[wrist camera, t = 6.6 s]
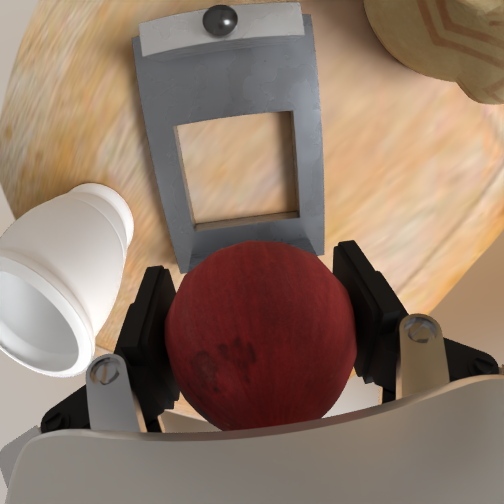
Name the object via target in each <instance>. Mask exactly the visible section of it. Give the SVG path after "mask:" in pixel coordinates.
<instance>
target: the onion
mask: <svg viewBox="0 0 504 504" xmlns="http://www.w3.org/2000/svg"><path fill="white" fill-rule="evenodd" d="M357 337H358V336H357V330H356V324H355V318H354V312H353V307H352V304H351V300H350V297H349V294H348V291H347V289H346V288H345V287H344V286H343V285H342V284H341V282H340V281H339V280H338V279H337V278H336V277H335V276H334V275H333V273H332V272H331V271H330V270H329V269H328V268H327V267H326V266H325V265H324V264H323V263H322V262H321V261H320V259H319V258H318V257H317V256H316V255H315V254H312V253H309V252H307V251H304V250H301V249H299V248H296V247H294V246H291V245H288V244H285V243H283V242H271V241H252V240H248V241H245V242H241V243H238V244H235V245H232V246H228V247H225V248H222V249H220V250H218V251H216V252H214V253H212V254H211V255H210V256H208V257H207V258H206V259H205V260H203V261H202V262H201V263H200V264H198V265H197V266H196V267H195V268H193V269H192V270H191V271H190V272H188V273H187V274H186V275H185V276H184V278H183V280H182V283H181V285H180V287H179V289H178V291H177V293H176V295H175V297H174V300H173V302H172V304H171V307H170V309H169V312H168V314H167V316H166V319H165V346H166V349H167V353H168V357H169V361H170V365H171V368H172V372H173V375H174V378H175V381H176V384H177V386H178V388H179V390H180V391H181V393H182V395H183V396H184V398H185V400H186V401H187V402H188V403H189V404H190V405H191V406H192V407H193V408H194V409H195V410H196V411H197V412H198V413H199V414H200V415H201V416H202V417H203V418H205V419H206V420H207V421H208V422H209V423H211V424H213V425H214V426H216V427H217V428H219V429H221V430H222V431H234V430H245V429H255V428H264V427H272V426H280V425H287V424H293V423H299V422H305V421H311V420H316V419H321V418H322V417H323V416H324V415H325V414H326V413H327V412H328V411H329V410H330V409H331V408H332V406H333V405H334V404H335V402H336V401H337V400H338V398H339V397H340V395H341V393H342V391H343V389H344V388H345V385H346V383H347V381H348V379H349V376H350V374H351V372H352V369H353V366H354V362H355V359H356V355H357Z"/></svg>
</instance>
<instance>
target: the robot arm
mask: <svg viewBox="0 0 504 504" xmlns="http://www.w3.org/2000/svg"><path fill="white" fill-rule="evenodd" d="M333 275H334V276H335V277H336V278H337V279H338V280H339V281H340V282H341V284H342V285H343V286H344V287H345V288H346V289H347V291H348V294H349V297H350V300H351V304H352V307H353V312H354V318H355V324H356V330H357V336H358V337H357V355H356V359H355V362H354V368H355V371H356V374H357V376H358V377H363V380H364V382H365V384H368V383H372V382H374V383H375V384H376V385H379V386H380V390H379V405H377V406H373V407H370V408H366V409H362V410H358V411H354V412H349V413H345V414H341V415H336V416H331V417H327V418H321V419H316V420H311V421H305V422H299V423H293V424H287V425H280V426H272V427H264V428H255V429H245V430H234V431H219V432H198V433H166V432H165V429H164V426H163V423H162V420H161V416H160V414H162V413H163V412H164V409H174V401H178V400H179V395H180V390H179V388H178V386H177V384H176V381H175V378H174V375H173V372H172V368H171V365H170V361H169V357H168V353H167V349H166V346H165V319H166V316H167V314H168V312H169V309H170V307H171V304H172V302H173V300H174V297H175V295H176V291H175V288H174V284H173V281H172V278H171V275H170V272H169V270H168V269H164V267H163V266H162V265H160V266H153V267H147V269H146V272H145V274H144V277H143V280H142V282H141V285H140V288H139V291H138V293H137V296H136V299H135V302H134V303H132V304H130V306H129V309H128V311H127V314H126V317H125V320H124V323H123V326H122V329H121V332H120V335H119V338H118V341H117V344H116V347H115V350H114V353H113V354H105V355H102V356H100V357H98V358H96V359H95V360H94V361H92V363H91V364H90V365H89V366H88V369H87V371H86V384H85V385H84V386H83V387H81V388H80V389H78V390H77V391H76V392H74V393H73V394H71V395H70V396H68V397H67V398H66V399H64V400H63V401H61V402H60V403H58V404H57V405H56V406H54V407H53V408H51V409H50V410H49V411H48V412H47V413H46V414H45V415H44V417H43V418H42V422H41V427H38V426H37V425H36V426H34V427H33V428H31V429H30V430H28V431H27V432H25V433H24V434H22V435H21V436H19V437H18V438H16V439H15V440H13V441H12V442H10V443H9V444H7V445H6V446H5V447H4V448H3V449H2V450H1V452H0V468H1V471H2V474H3V477H4V480H5V482H6V485H7V488H8V492H7V497H6V502H5V504H504V365H503V364H502V365H501V367H498V364H497V362H496V361H495V359H494V358H493V357H492V356H491V355H489V354H487V353H485V352H482V351H479V350H476V349H474V348H471V347H468V346H466V345H463V344H460V343H458V342H455V341H452V340H449V339H447V338H444V337H443V335H442V330H441V328H440V325H439V324H438V323H437V321H436V320H434V319H433V318H432V317H430V316H427V315H425V314H411V315H409V314H408V313H407V311H406V310H405V308H404V306H403V305H402V303H401V302H400V300H399V299H398V297H397V296H396V294H395V293H394V291H393V290H392V288H391V287H390V285H389V284H388V282H387V281H386V279H385V278H384V276H383V275H382V273H381V272H380V271H375V270H374V268H373V267H372V265H371V264H370V262H369V261H368V259H367V258H366V256H365V255H364V253H363V252H362V251H361V249H360V248H359V246H358V245H357V244H356V242H355V241H354V240H350V241H343V242H339V243H338V246H335V247H334V251H333Z"/></svg>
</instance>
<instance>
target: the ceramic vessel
mask: <svg viewBox="0 0 504 504" xmlns="http://www.w3.org/2000/svg"><path fill="white" fill-rule="evenodd" d="M363 3H364V8H365V12H366V15H367V18H368V20H369V23H370V25H371V27H372V29H373V31H374V33H375V34H376V36H377V38H378V39H379V41H380V42H381V43H382V45H383V46H384V47H385V49H386V50H387V51H388V52H389V53H390V54H391V55H392V56H393V57H395V58H396V59H397V60H399V61H400V62H401V63H403V64H404V65H405V66H407V67H409V68H410V69H412V70H414V71H416V72H418V73H421V74H423V75H426V76H429V77H432V78H436V79H440V80H445V81H450V82H457V84H458V85H459V86H460V88H461V89H462V90H463V91H464V92H465V94H466V95H467V96H468V97H469V98H471V99H472V100H474V101H476V102H478V103H482V104H504V0H363Z"/></svg>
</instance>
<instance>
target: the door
mask: <svg viewBox="0 0 504 504" xmlns="http://www.w3.org/2000/svg"><path fill="white" fill-rule="evenodd" d="M139 32H140V41H141V48H142V56H143V57H146V58H149V59H152V60H155V61H158V62H163V61H168V60H172V59H177V58H182V57H187V56H193V55H198V54H204V53H210V52H217V51H224V50H232V49H241V48H252V47H264V46H281V45H291V44H292V43H293V42H295V41H296V40H298V39H299V38H301V37H302V36H304V35H305V34H304V26H303V19H302V11H301V5H300V2H282V3H257V4H244V5H233V6H226V5H216V6H213V7H211V8H209V9H203V10H197V11H192V12H186V13H181V14H176V15H172V16H167V17H163V18H159V19H155V20H151V21H147V22H143V23H140V24H139Z"/></svg>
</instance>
